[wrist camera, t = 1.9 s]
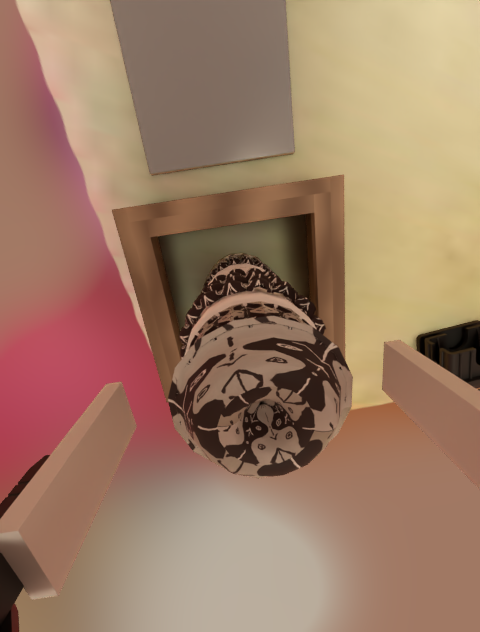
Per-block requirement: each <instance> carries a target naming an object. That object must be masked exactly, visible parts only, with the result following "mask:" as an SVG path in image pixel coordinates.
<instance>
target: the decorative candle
mask: <svg viewBox="0 0 480 632" xmlns="http://www.w3.org/2000/svg"><path fill="white" fill-rule="evenodd" d="M315 311H316V307H315V305H314V304H313V303H312V302H311V301H310V300H309V299H308V298H306V297H304V296H302V295H298V293H297V291H296V290H294V288H292V287H291V285H290V284H289V283H288V282H285V281H281V279H280V278H279V277H278V276H277V275H276V274H275V273H274V272H272V270H270V268H269V267H268V266H267V265H265V264H263V263H262V262H261V261H260V260H259V259H258V258H257V257H254V256H251V255H247V254H244V253H239V254H231V255H228V256H226V257H225V258H223V259H221V260H219V261H218V262H217V263H216V265H214V266H213V268H212V270H211V271H210V274H209V275H208V277H207V279H206V282H205V284H204V288H203V289H202V291H201V294H200V295H199V296H198V297H197V299H196V300H195V301H194V303H193V306H192V308H191V309H190V310H189V311H188V313H187V315H186V319H185V326H184V327H183V328H182V329H181V331H180V335H179V338H180V341H181V343H182V344H184V345H183V346H182V348H181V350H180V356H181V358H182V360H181V361H180V362H179V363H178V365H177V366H176V367H175V370H174V374H173V379H172V383H171V387H170V391H169V396H168V402H169V406H170V410H171V415H172V419H173V422H174V426H175V429H176V430H177V432H178V433H179V434H180V435H181V436H182V438H183V439H184V440H185V441H186V443H187V444H188V445H189V446H190V448H191V449H192V450H193V451H194V452H195V453H197V454H199V455H201V456H203V457H204V458H206V459H208V460H210V461H211V462H213V463H215V464H216V465H218V466H220V467H222V468H224V469H226V470H227V471H229V472H231V473H233V474H238V475H243V476H249V477H255V478H263V477H271V476H280V475H285V474H287V473H289V472H292V471H294V470H296V469H299V468H301V467H303V466H305V465H307V464H308V463H310V462H311V461H312V460H313V459H314V458H315V457H316V456H317V455H319V454H320V453H321V452H322V451H323V450H324V449H325V448H326V447H327V445H328V443H329V442H330V441H331V440H332V439H333V438H334V437H335V436H336V435H337V434H338V432H339V430H340V428H341V426H342V425H343V423H344V421H345V419H346V417H347V415H348V413H349V411H350V409H351V404H352V379H353V377H352V374H351V372H350V370H349V368H348V366H347V364H346V362H345V359H344V357H343V355H342V353H341V351H340V349H339V347H338V346H336V345H335V344H334V343H333V342H331V341H330V340H329V339H327V338H326V337H325V336H324V335H323V334H324V331H325V329H326V327H325V324H324V323H323V320H321V319H319V318H318V317H317V316H316V315H314V313H315Z"/></svg>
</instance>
